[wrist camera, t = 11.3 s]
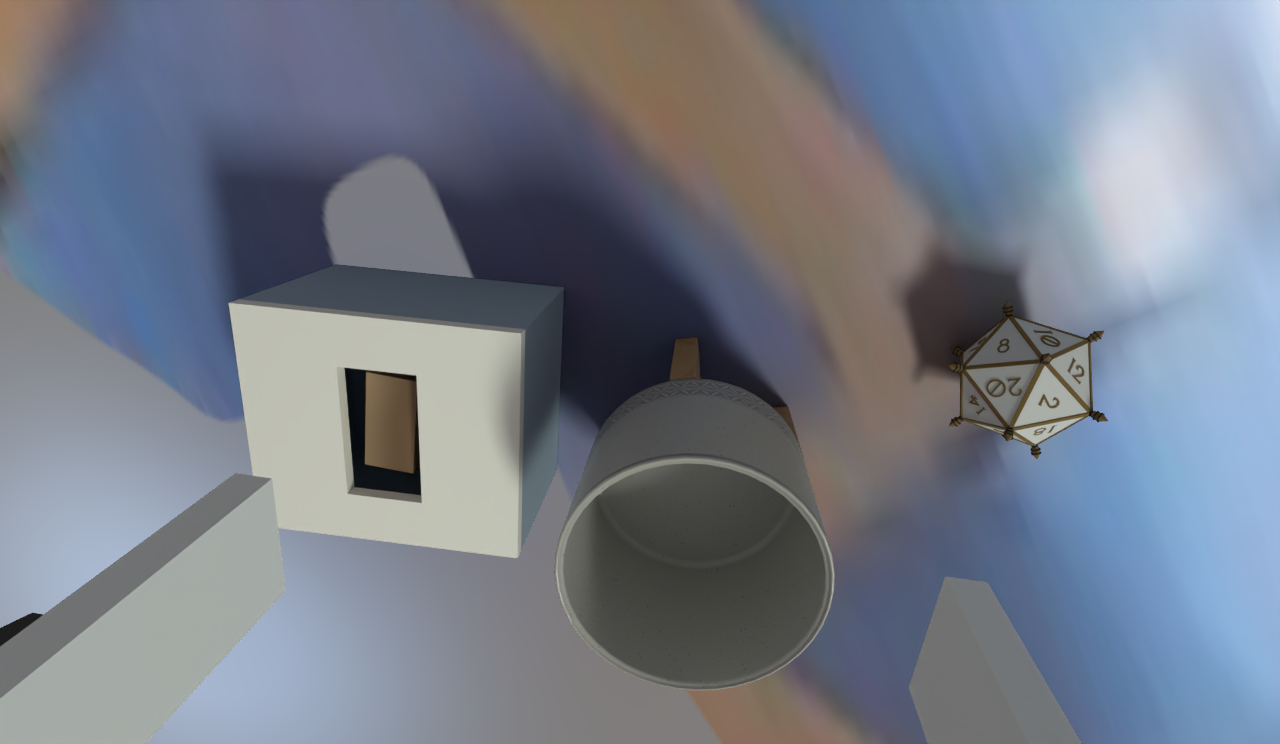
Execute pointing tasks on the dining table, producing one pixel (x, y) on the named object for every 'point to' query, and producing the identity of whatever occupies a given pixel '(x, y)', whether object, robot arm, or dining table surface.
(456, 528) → the coin box
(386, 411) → the block
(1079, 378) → the game die
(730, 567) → the planter
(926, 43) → the dining table surface
